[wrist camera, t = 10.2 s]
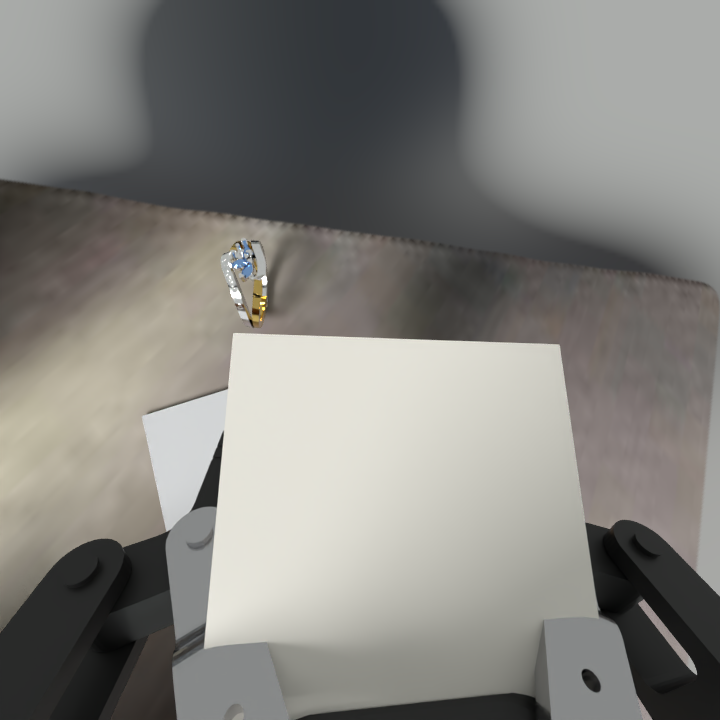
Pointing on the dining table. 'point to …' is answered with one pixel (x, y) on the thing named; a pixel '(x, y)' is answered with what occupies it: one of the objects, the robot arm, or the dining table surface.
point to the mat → (183, 450)
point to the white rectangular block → (396, 517)
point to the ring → (244, 261)
